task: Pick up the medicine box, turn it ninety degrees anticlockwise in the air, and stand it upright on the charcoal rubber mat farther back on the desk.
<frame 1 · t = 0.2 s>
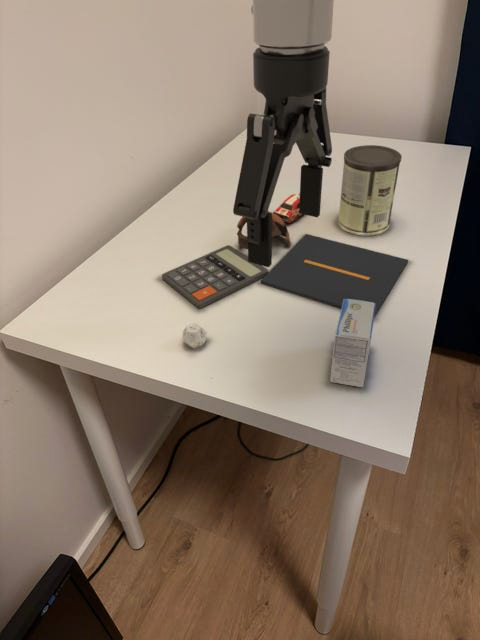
hand: (286, 237, 61), 17 cm above the table, tool pointing down, fingers open, 13 cm apart
race car: (296, 213, 103), on the table
coffee can: (362, 224, 98), on the table
brown looped frame: (264, 244, 94), on the table
game die: (195, 344, 72), on the table
medicine box: (349, 366, 67), on the table
calculator: (215, 276, 85), on the table
mat: (335, 272, 85), on the table
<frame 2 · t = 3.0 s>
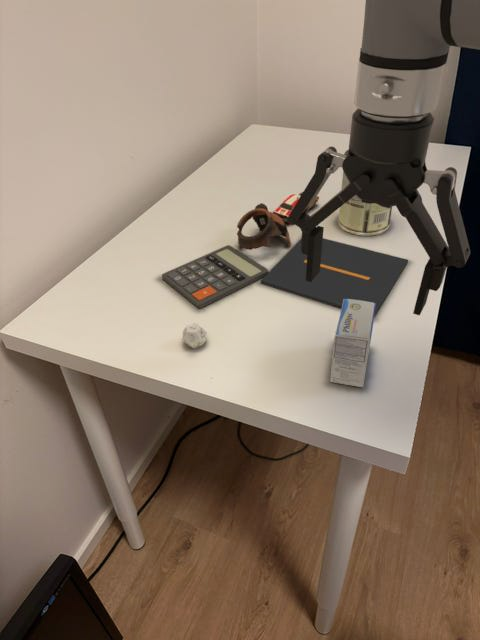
hand: (363, 291, 59), 13 cm above the table, tool pointing down, fingers open, 13 cm apart
nothing on the table moved.
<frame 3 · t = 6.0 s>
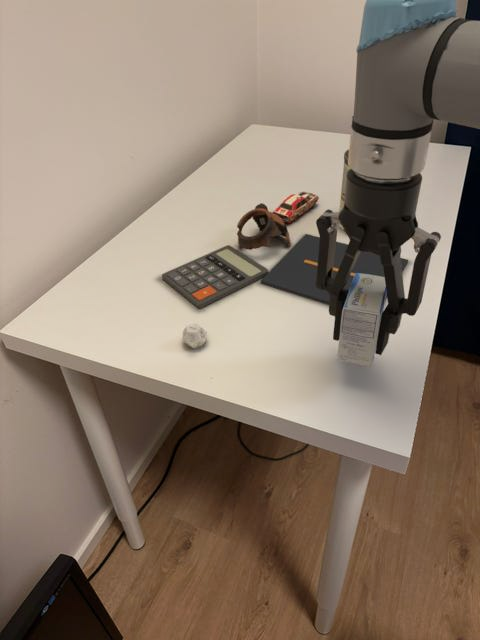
hand: (360, 340, 64), 5 cm above the table, tool pointing down, fingers closed on medicine box, 5 cm apart
medicine box: (358, 345, 64), point 4 cm above the table, touching gripper
everything else where it was.
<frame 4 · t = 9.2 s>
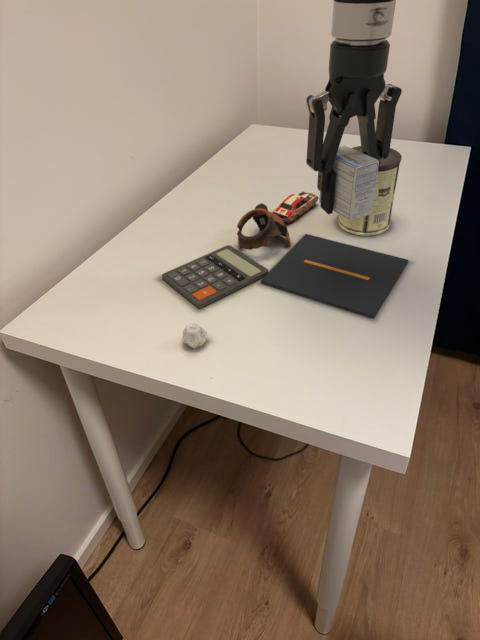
hand: (342, 206, 77), 13 cm above the table, tool pointing down, fingers closed on medicine box, 5 cm apart
medicine box: (344, 210, 77), point 12 cm above the table, touching gripper
everything else where it was.
when the fingers open (1 cm above the table, at t = 12.6 s): medicine box stays where it is, resting on mat.
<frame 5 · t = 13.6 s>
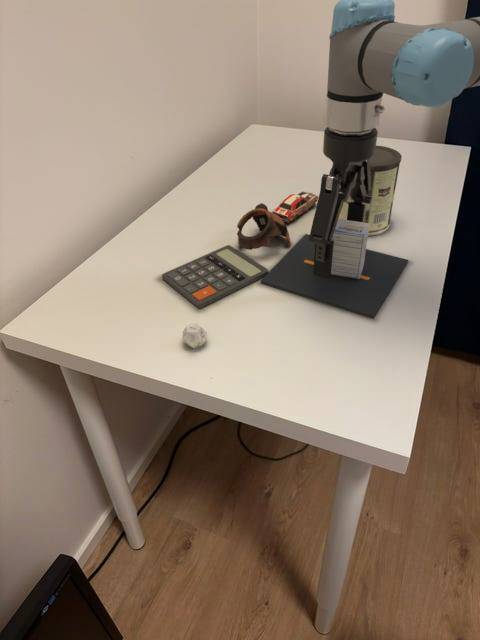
hand: (338, 255, 82), 4 cm above the table, tool pointing down, fingers open, 13 cm apart
medicine box: (338, 270, 84), point 1 cm above the table, touching mat
everything else where it was.
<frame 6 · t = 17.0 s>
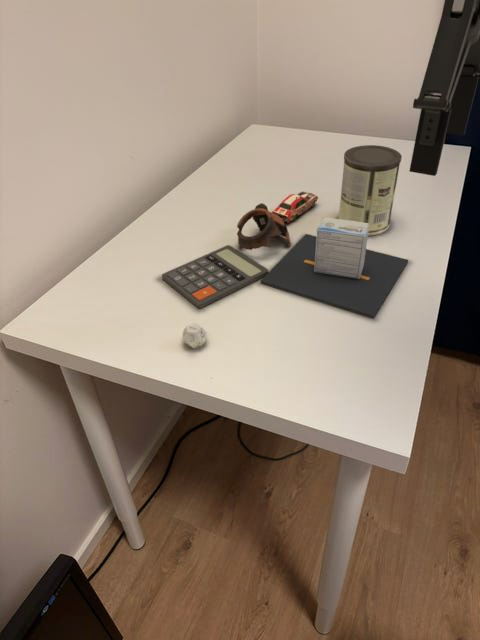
hand: (438, 151, 56), 27 cm above the table, tool pointing down, fingers open, 13 cm apart
nothing on the table moved.
at the end: medicine box inside the target area on the mat (0.5 cm from its centre), point 0.5 cm above the mat's base; medicine box tilted 0°; the gripper is holding nothing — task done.
